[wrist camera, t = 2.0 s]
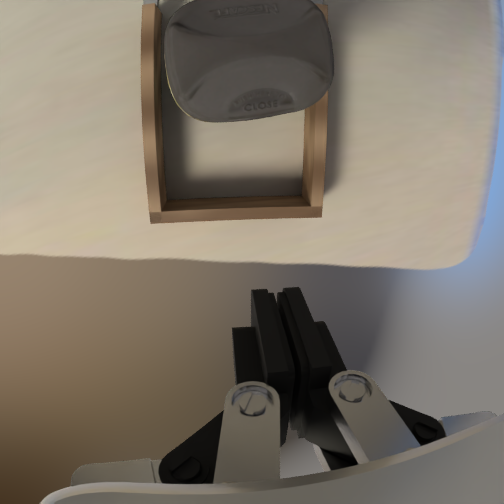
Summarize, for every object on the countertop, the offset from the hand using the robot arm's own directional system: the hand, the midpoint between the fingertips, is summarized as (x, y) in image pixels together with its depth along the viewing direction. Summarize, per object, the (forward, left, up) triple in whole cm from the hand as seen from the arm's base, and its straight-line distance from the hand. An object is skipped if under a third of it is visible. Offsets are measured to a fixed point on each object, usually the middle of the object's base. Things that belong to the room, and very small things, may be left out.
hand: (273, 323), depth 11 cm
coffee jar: (-10, 0, -26) cm, 28 cm away
